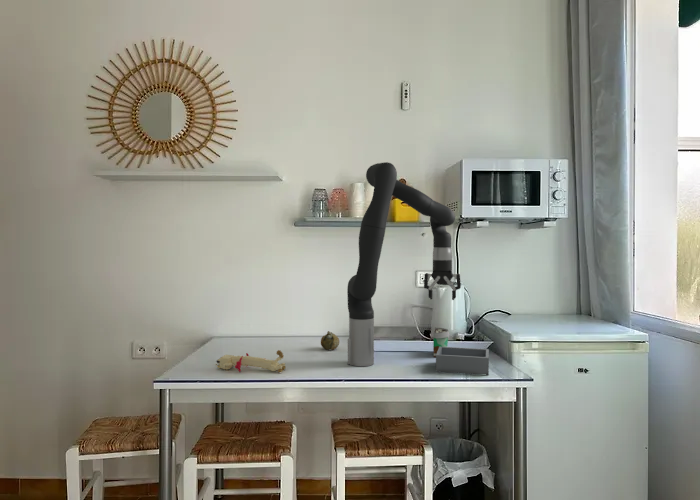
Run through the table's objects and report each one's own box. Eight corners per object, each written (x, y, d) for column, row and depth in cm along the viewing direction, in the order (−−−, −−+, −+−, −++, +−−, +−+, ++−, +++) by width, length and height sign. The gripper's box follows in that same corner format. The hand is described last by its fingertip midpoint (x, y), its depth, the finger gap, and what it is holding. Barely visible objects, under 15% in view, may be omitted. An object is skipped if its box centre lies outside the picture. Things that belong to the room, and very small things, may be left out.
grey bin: (435, 371, 191) (435, 355, 191) (439, 362, 205) (439, 346, 204) (488, 375, 187) (488, 358, 186) (488, 365, 200) (488, 349, 200)
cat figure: (286, 371, 197) (222, 363, 201) (288, 348, 196) (223, 339, 201) (278, 379, 187) (210, 370, 192) (280, 354, 187) (212, 345, 191)
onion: (343, 349, 226) (343, 330, 225) (326, 352, 221) (326, 332, 221) (333, 346, 232) (333, 328, 232) (317, 349, 227) (317, 330, 227)
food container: (449, 359, 210) (449, 333, 209) (433, 358, 211) (433, 332, 210) (449, 352, 222) (450, 327, 221) (434, 351, 223) (434, 327, 222)
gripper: (423, 259, 213) (423, 300, 213) (460, 259, 209) (460, 301, 210) (425, 258, 220) (425, 297, 221) (461, 258, 217) (460, 298, 217)
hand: (442, 299), depth 215 cm, fingers open, 8 cm apart
